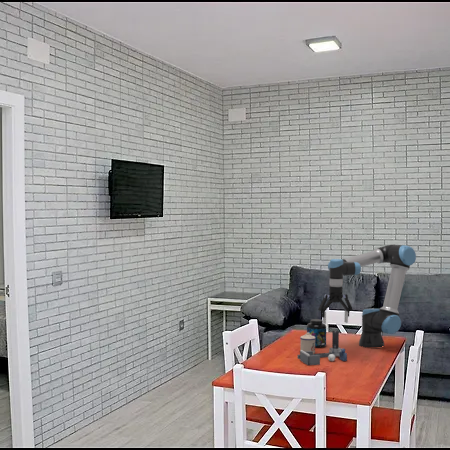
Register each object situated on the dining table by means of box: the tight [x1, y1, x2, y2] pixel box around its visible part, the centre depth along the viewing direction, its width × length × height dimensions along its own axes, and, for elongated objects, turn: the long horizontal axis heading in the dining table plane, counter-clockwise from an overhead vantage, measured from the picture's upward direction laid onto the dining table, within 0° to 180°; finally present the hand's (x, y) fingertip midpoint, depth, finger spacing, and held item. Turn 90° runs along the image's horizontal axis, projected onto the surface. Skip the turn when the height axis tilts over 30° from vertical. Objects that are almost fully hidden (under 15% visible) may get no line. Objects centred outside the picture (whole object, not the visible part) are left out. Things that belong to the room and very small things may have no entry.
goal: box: [299, 350, 321, 366], centre depth 333 cm, size 7×11×6 cm, turn 15°
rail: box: [296, 352, 340, 360], centre depth 345 cm, size 27×2×2 cm, turn 105°
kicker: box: [328, 329, 348, 362], centre depth 342 cm, size 6×14×14 cm, turn 15°
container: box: [306, 318, 327, 349], centre depth 373 cm, size 12×12×17 cm
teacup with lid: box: [299, 332, 316, 354], centre depth 358 cm, size 12×9×12 cm
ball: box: [327, 354, 336, 362], centre depth 336 cm, size 4×4×4 cm
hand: (335, 322), depth 347 cm, fingers open, 13 cm apart
